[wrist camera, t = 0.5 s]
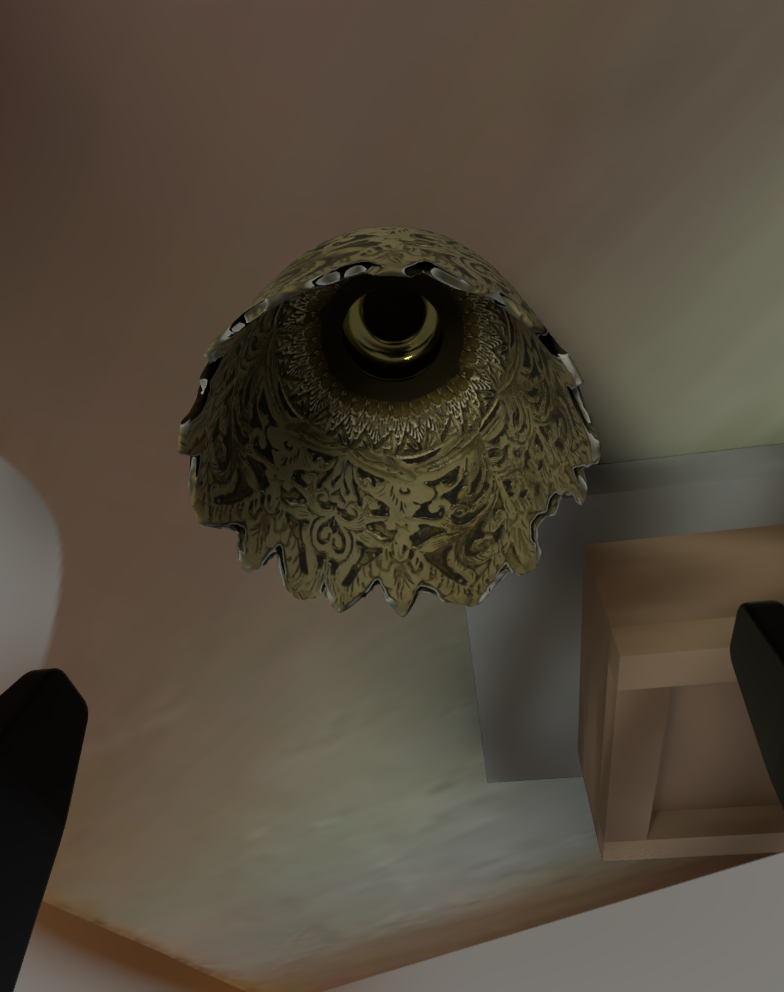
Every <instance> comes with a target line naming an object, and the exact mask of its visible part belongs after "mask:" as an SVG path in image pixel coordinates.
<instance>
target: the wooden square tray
mask: <svg viewBox="0 0 784 992" xmlns="http://www.w3.org/2000/svg"><path fill="white" fill-rule="evenodd" d="M583 471H584V474H585V478H586V482H587V496H586V499H585V501H584V503H583V504H582V505H580V504H578V503H577V502H576V500H575V498H574V496H573V495H570V496H569V495H566V494H563V495H562V496H561V497H562V498H561V499H560V501H559V506H558V509H557V512H556V514H555V515H553V516H548V517H545V518H544V520H543V521H542V522H541V523H540V524H539V526H538V543H539V546H540V548H541V556H540V560H539V563H538V565H537V567H536V569H535V570H533V571H531V572H529V573H527V574H524V575H518V574H516V573H512V574H511V573H508V574H507V575H506V576H505V577H504V578H503V580H502V581H500V582H498V584H497V585H496V586H495V587H494V589H493V590H492V592H491V593H490V594H489V596H488V597H487V598H486V599H485V600H484V601H483V602H482V603H480V604H478V605H476V606H473V607H469V606H466V605H465V606H466V614H467V622H468V630H469V638H470V646H471V654H472V662H473V670H474V679H475V687H476V695H477V703H478V711H479V719H480V727H481V735H482V743H483V751H484V759H485V767H486V775H487V783H492V782H507V781H522V780H537V779H552V778H568V777H583V778H584V782H585V787H586V791H587V795H588V800H589V804H590V808H591V813H592V817H593V822H594V826H595V830H596V835H597V839H598V844H599V848H600V852H601V857H602V861H622V860H641V859H660V858H679V857H698V856H717V855H736V854H755V853H774V852H784V811H783V809H782V806H781V804H780V802H779V800H778V797H777V795H776V793H775V790H774V788H773V786H772V783H771V781H770V778H769V775H768V772H767V769H766V767H765V764H764V761H763V758H762V755H761V752H760V749H759V746H758V742H757V739H756V736H755V733H754V730H753V727H752V724H751V721H750V718H749V715H748V712H747V709H746V706H745V703H744V700H743V697H742V693H741V690H740V687H739V684H738V681H737V678H736V675H735V672H734V669H733V666H732V662H731V657H730V642H731V638H732V633H733V628H734V624H735V619H736V614H737V610H738V608H739V606H740V605H741V604H742V603H745V602H753V601H763V600H775V601H778V602H780V603H782V604H784V444H776V445H767V446H759V447H750V448H741V449H732V450H724V451H715V452H706V453H697V454H689V455H680V456H671V457H662V458H654V459H645V460H636V461H627V462H619V463H610V464H601V465H592V466H590V467H588V468H584V469H583Z"/></svg>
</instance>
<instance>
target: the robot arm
mask: <svg viewBox="0 0 784 992" xmlns="http://www.w3.org/2000/svg"><path fill="white" fill-rule="evenodd" d="M730 657H731V662H732V666H733V669H734V672H735V675H736V678H737V681H738V684H739V687H740V690H741V693H742V697H743V700H744V703H745V706H746V709H747V712H748V715H749V718H750V721H751V724H752V727H753V730H754V733H755V736H756V739H757V742H758V746H759V749H760V752H761V755H762V758H763V761H764V764H765V767H766V769H767V772H768V775H769V778H770V781H771V783H772V786H773V788H774V790H775V793H776V795H777V797H778V800H779V802H780V804H781V806H782V809H783V811H784V604H782V603H780V602H778V601H775V600H763V601H753V602H745V603H742V604H741V605H740V606H739V608H738V610H737V614H736V619H735V624H734V628H733V633H732V638H731V642H730ZM87 722H88V708H87V704H86V702H85V700H84V699H83V697H82V696H81V694H80V693H79V692H78V690H77V689H76V688H75V686H74V685H73V684H72V682H71V681H70V680H69V678H68V677H67V675H66V674H65V673H64V672H63V671H62V670H60V669H57V668H51V669H40V670H33V671H30V672H28V673H26V674H25V675H23V676H22V677H21V678H20V679H18V680H17V681H16V682H15V683H14V684H13V685H12V686H11V687H9V688H8V689H7V690H6V691H5V692H4V693H3V694H1V695H0V992H13V991H14V988H15V985H16V982H17V978H18V975H19V972H20V969H21V966H22V963H23V959H24V956H25V953H26V950H27V947H28V943H29V940H30V937H31V934H32V931H33V928H34V924H35V921H36V918H37V915H38V912H39V908H40V905H41V902H42V899H43V896H44V893H45V890H46V886H47V883H48V880H49V877H50V874H51V871H52V867H53V864H54V861H55V858H56V855H57V851H58V848H59V845H60V842H61V838H62V835H63V831H64V828H65V824H66V820H67V816H68V812H69V807H70V802H71V798H72V793H73V788H74V783H75V779H76V774H77V769H78V764H79V760H80V755H81V750H82V745H83V741H84V736H85V731H86V726H87Z"/></svg>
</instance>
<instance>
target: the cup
mask: <svg viewBox="0 0 784 992" xmlns="http://www.w3.org/2000/svg"><path fill="white" fill-rule="evenodd" d="M383 287H401V288H406V289H409V290H412V291H414V292H416V293H417V295H418V296H419V298H420V300H421V302H422V306H423V316H422V320H421V323H420V325H419V326H418V328H417V329H416V330H415V331H414V332H413V333H412V334H411V335H409V336H407V337H405V338H402V339H397V340H389V339H385V338H382V337H380V336H378V335H376V334H375V333H374V332H372V331H371V330H370V328H369V327H368V325H367V324H366V321H365V319H364V313H363V309H364V303H365V300H366V298H367V296H368V295H369V294H370V292H371V291H373V290H375V289H379V288H383ZM204 356H205V357H207V358H208V360H209V362H208V364H207V365H206V367H205V369H204V370H203V372H202V374H201V376H200V387H199V390H198V395H197V399H196V401H195V403H194V405H193V407H192V408H191V410H190V412H189V413H188V415H187V416H186V417H185V418H184V419H183V420H182V422H181V425H180V430H179V438H178V451H179V453H180V454H181V455H187V456H190V470H189V477H188V485H189V493H190V499H191V503H192V507H193V510H194V513H195V517H196V519H197V520H198V522H199V523H200V524H202V525H204V526H208V527H213V528H219V529H221V528H227V529H230V530H232V531H234V532H236V533H239V534H238V537H239V542H237V544H238V546H237V551H238V555H239V556H238V559H239V561H240V562H241V564H242V567H243V570H245V571H247V572H250V573H251V572H252V571H254V570H259V569H261V568H262V566H264V565H267V563H268V561H269V560H270V559H272V558H273V557H274V556H275V555H277V556H278V564H279V565H278V566H279V570H280V574H281V578H282V582H283V585H284V586H285V587H286V589H287V590H288V591H289V592H290V593H291V594H292V595H293V596H294V597H296V598H298V599H302V600H305V599H308V598H316V597H317V596H318V595H321V594H323V595H324V597H328V599H329V601H330V603H331V605H332V607H333V608H334V609H335V611H336V612H337V613H341V612H344V611H345V610H347V609H348V608H350V607H352V606H353V605H354V604H355V603H356V602H358V601H359V600H360V599H361V598H362V597H368V596H369V595H370V594H371V592H372V591H373V589H374V586H375V585H379V586H380V588H381V591H382V592H383V593H384V595H385V598H386V601H387V602H388V603H389V604H390V605H391V606H392V607H393V609H394V610H395V611H396V613H397V614H398V615H400V616H401V617H405V616H406V615H407V614H408V612H409V611H410V609H411V608H412V606H413V604H414V603H415V601H416V598H417V596H418V594H420V593H421V592H423V593H430V594H432V595H435V596H437V597H439V598H440V600H442V601H443V602H450V603H458V604H463V605H466V606H469V607H473V606H476V605H478V604H480V603H482V602H483V601H484V600H485V599H486V598H487V597H488V596H489V594H490V593H491V592H492V590H493V589H494V587H495V586H496V585H497V584H498V582H500V581H502V580H503V578H504V577H505V576H506V575H507V574H508V573H511V574H512V573H516V574H518V575H524V574H527V573H529V572H531V571H533V570H535V569H536V567H537V565H538V563H539V560H540V556H541V548H540V546H539V543H538V526H539V524H540V523H541V522H542V521H543V520H544V518H545V517H548V516H553V515H555V514H556V512H557V509H558V506H559V501H560V499H561V498H562V497H561V496H562V495H563V494H566V495H569V496H570V495H573V496H574V498H575V500H576V502H577V503H578V504H580V505H582V504H583V503H584V501H585V499H586V496H587V482H586V478H585V474H584V471H583V469H584V468H588V467H590V466H591V465H593V464H598V462H599V461H600V458H601V449H600V440H599V436H598V432H597V429H596V427H595V424H594V422H593V419H592V417H591V415H590V413H589V411H588V409H587V407H586V405H585V402H584V399H583V397H582V394H581V392H580V389H579V385H581V384H584V382H583V379H582V377H581V375H580V373H579V371H578V369H577V368H576V366H575V364H574V362H573V361H572V359H571V358H570V356H569V354H568V353H567V352H566V351H565V350H564V349H562V348H561V347H560V346H559V344H558V343H557V342H556V341H555V340H554V338H553V337H552V336H551V335H550V333H549V331H548V330H547V329H546V328H545V327H544V325H543V324H542V323H541V322H540V320H539V319H538V318H537V316H536V315H535V314H534V312H533V311H532V310H531V309H530V307H529V306H528V305H527V303H526V302H525V301H524V300H523V299H522V297H521V296H520V295H519V294H518V292H517V291H516V290H515V289H514V288H513V287H512V286H511V285H510V283H509V282H508V281H507V280H506V279H505V278H504V277H503V276H502V275H501V274H500V273H499V272H498V271H497V270H496V269H495V268H494V267H493V266H491V265H490V264H489V263H488V262H487V261H485V260H484V259H483V258H482V257H480V256H479V255H478V254H476V253H475V252H473V251H472V250H470V249H468V248H467V247H465V246H464V245H462V244H460V243H458V242H456V241H454V240H452V239H450V238H447V237H445V236H442V235H439V234H436V233H433V232H430V231H426V230H421V229H416V228H410V227H399V226H384V227H372V228H365V229H359V230H355V231H352V232H348V233H344V234H341V235H339V236H336V237H334V238H331V239H329V240H327V241H325V242H323V243H321V244H319V245H318V246H316V247H314V248H312V249H311V250H309V251H307V252H306V253H305V254H303V255H302V256H300V257H299V258H298V259H296V260H295V261H293V262H292V263H291V264H290V265H289V266H288V267H287V268H285V269H284V270H283V271H282V272H281V273H280V274H279V275H278V276H277V277H276V278H275V279H274V280H273V281H272V282H271V283H270V284H269V285H268V286H267V287H266V288H265V289H264V290H263V291H262V292H261V293H260V294H259V295H258V296H257V297H256V298H255V299H254V300H253V302H252V303H251V304H250V305H249V306H248V307H247V308H246V309H245V310H244V311H243V313H242V314H241V315H240V316H239V317H238V318H237V319H236V320H235V321H234V322H233V323H232V324H231V325H230V326H229V327H228V328H227V329H226V330H225V331H224V332H223V333H222V334H221V335H220V336H219V337H218V338H217V339H216V340H215V341H214V342H213V343H212V344H211V345H210V346H209V347H208V349H207V350H206V352H205V354H204ZM274 549H276V551H277V552H274V553H272V554H271V555H270V556H269V554H270V553H271V552H272V551H273V550H274Z"/></svg>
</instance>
